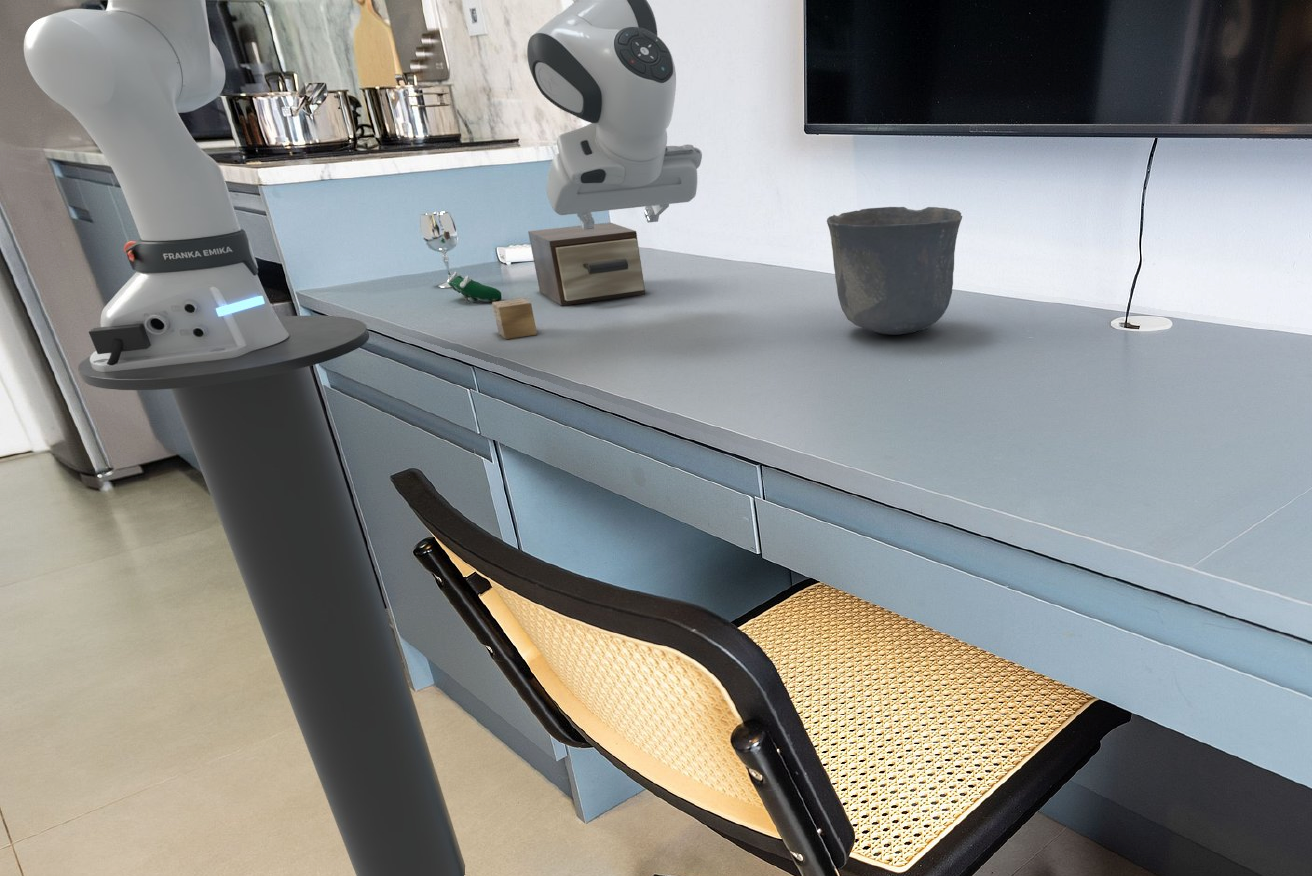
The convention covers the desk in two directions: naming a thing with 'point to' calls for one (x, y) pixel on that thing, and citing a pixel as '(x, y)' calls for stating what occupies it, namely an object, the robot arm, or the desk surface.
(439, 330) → the desk surface
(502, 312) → the block
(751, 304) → the desk surface
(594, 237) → the cabinet
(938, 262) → the cup
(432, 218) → the wineglass
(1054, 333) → the desk surface
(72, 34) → the robot arm
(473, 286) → the green elongated toy
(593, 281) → the drawer
